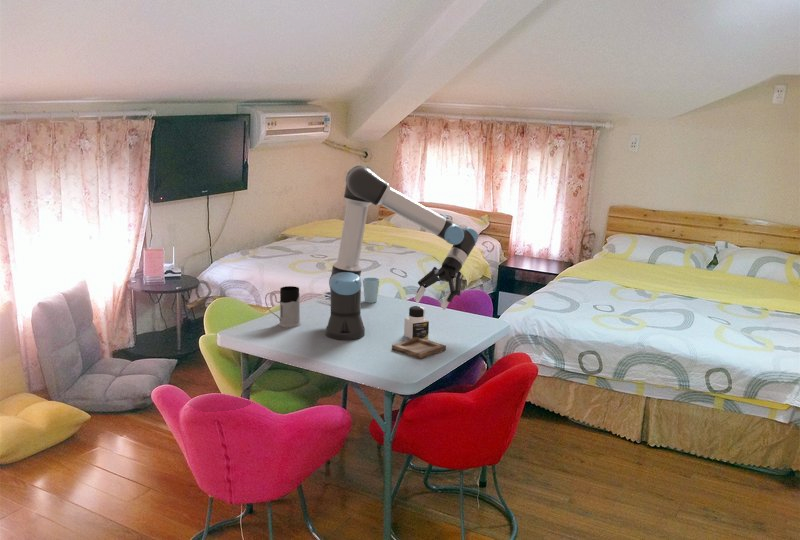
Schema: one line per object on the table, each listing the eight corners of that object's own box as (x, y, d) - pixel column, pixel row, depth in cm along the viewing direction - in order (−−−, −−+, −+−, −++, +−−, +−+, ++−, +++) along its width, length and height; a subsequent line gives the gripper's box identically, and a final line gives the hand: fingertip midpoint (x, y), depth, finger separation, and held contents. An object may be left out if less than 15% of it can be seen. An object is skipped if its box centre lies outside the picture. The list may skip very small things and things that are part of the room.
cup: (378, 303, 319) (379, 281, 316) (361, 303, 319) (362, 281, 317) (379, 299, 326) (379, 277, 324) (363, 299, 326) (363, 277, 324)
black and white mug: (302, 326, 282) (302, 290, 279) (267, 329, 277) (266, 292, 274) (298, 320, 290) (298, 285, 287) (263, 323, 285) (263, 287, 282)
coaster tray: (391, 349, 257) (392, 344, 257) (417, 341, 268) (417, 336, 267) (420, 359, 248) (420, 354, 248) (445, 350, 258) (445, 345, 258)
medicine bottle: (412, 340, 268) (413, 310, 266) (403, 335, 275) (404, 305, 272) (428, 338, 272) (429, 308, 269) (419, 333, 278) (420, 303, 275)
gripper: (483, 272, 276) (458, 316, 269) (434, 262, 293) (409, 303, 285) (475, 260, 271) (450, 305, 264) (426, 251, 288) (401, 293, 280)
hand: (429, 304), depth 274 cm, fingers open, 13 cm apart
